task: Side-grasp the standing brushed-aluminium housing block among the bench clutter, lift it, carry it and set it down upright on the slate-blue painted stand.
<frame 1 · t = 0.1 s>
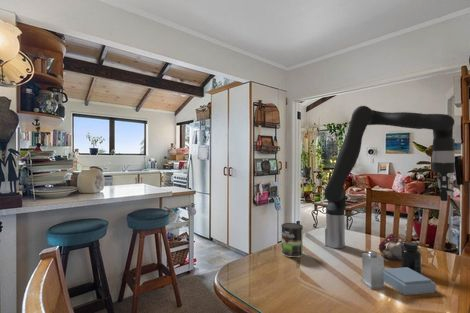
hand: (443, 199, 108), 29 cm above the table, tool pointing down, fingers open, 8 cm apart
housing: (372, 284, 94), on the table
coffee can: (292, 254, 125), on the table
stand: (406, 284, 94), on the table
supplement bottle: (411, 273, 103), on the table
brake caliper: (392, 257, 119), on the table
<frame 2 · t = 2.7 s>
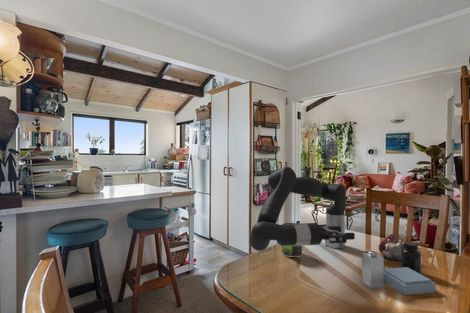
hand: (346, 232, 92), 20 cm above the table, tool horizontal, fingers open, 8 cm apart
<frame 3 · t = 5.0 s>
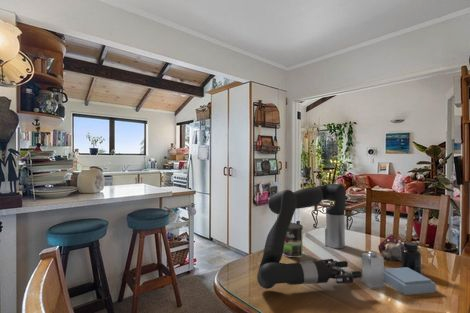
hand: (353, 268, 93), 6 cm above the table, tool horizontal, fingers open, 8 cm apart
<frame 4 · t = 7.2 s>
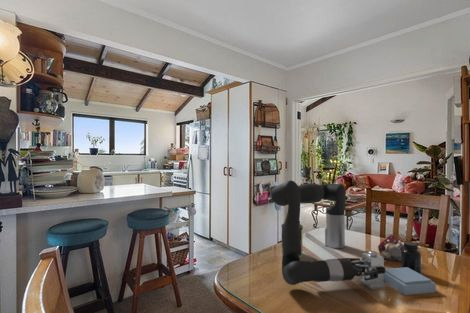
hand: (379, 266, 94), 7 cm above the table, tool horizontal, fingers closed on housing, 5 cm apart
housing: (372, 284, 94), on the table, touching gripper
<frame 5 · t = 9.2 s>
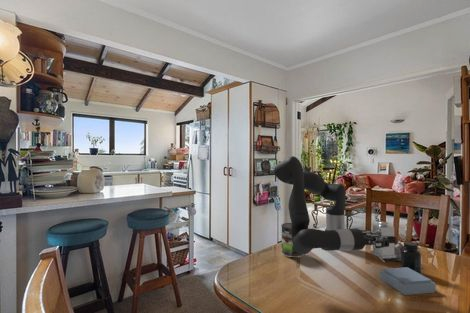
hand: (389, 237, 94), 18 cm above the table, tool horizontal, fingers closed on housing, 5 cm apart
housing: (383, 254, 94), point 11 cm above the table, touching gripper
when the fingers open (11 cm above the table, at t = 11.3 s): housing stays where it is, resting on stand.
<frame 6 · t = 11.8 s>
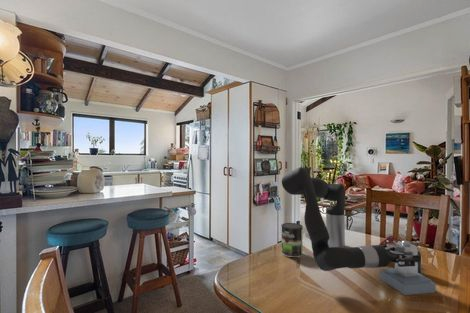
hand: (410, 253, 94), 12 cm above the table, tool horizontal, fingers open, 8 cm apart
housing: (406, 274, 94), point 4 cm above the table, touching stand
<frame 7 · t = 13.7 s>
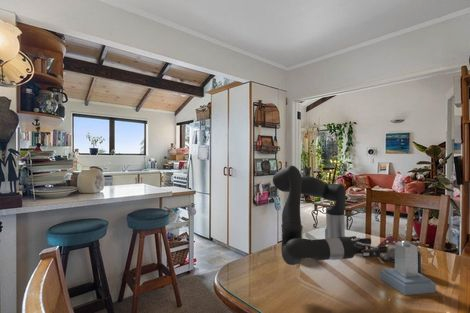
hand: (378, 244, 93), 15 cm above the table, tool horizontal, fingers open, 8 cm apart
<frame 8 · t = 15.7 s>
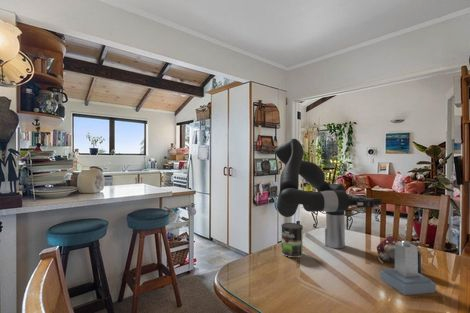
hand: (372, 199, 93), 32 cm above the table, tool horizontal, fingers open, 8 cm apart
at the end: housing inside the target area on the stand (0.1 cm from its centre), point 4.0 cm above the stand's base; housing tilted 0°; the gripper is holding nothing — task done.
